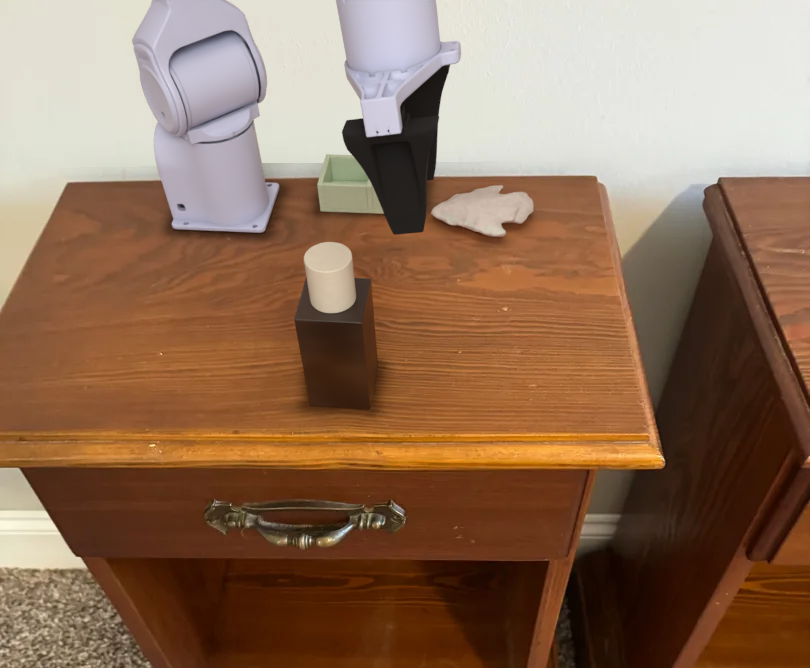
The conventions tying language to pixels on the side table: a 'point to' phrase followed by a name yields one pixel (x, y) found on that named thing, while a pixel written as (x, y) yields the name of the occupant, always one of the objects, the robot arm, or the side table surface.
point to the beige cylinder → (330, 277)
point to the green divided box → (346, 187)
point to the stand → (339, 350)
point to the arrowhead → (485, 210)
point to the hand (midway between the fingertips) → (414, 204)
